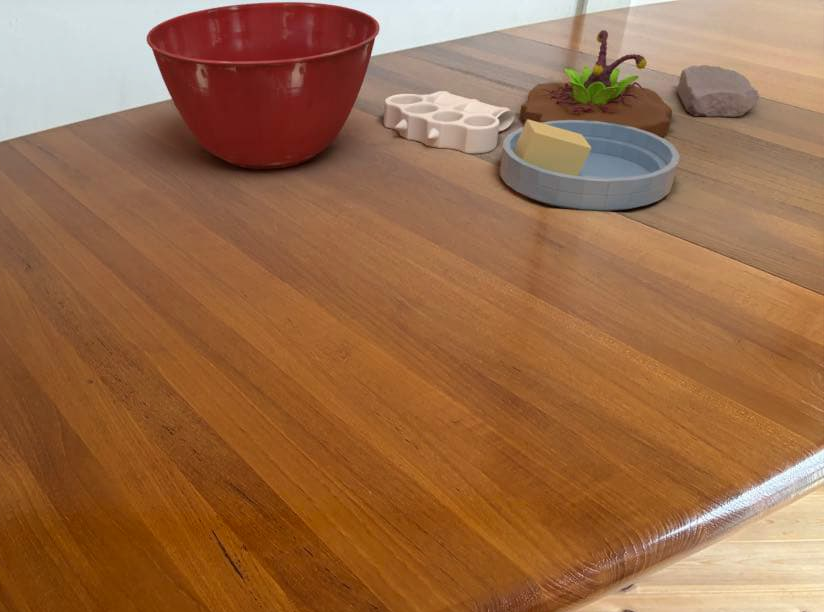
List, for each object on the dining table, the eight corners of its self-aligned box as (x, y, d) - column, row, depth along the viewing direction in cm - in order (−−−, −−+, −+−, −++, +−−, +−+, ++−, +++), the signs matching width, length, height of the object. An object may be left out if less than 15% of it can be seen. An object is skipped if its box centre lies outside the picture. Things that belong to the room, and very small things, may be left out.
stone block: (734, 104, 124) (669, 88, 124) (752, 72, 121) (684, 56, 121) (752, 134, 115) (681, 117, 115) (771, 101, 112) (698, 83, 112)
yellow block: (581, 134, 97) (527, 118, 96) (591, 147, 94) (534, 132, 93) (564, 169, 100) (511, 155, 99) (573, 184, 96) (518, 169, 95)
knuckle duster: (532, 134, 111) (463, 163, 104) (430, 105, 122) (361, 129, 115) (536, 109, 109) (465, 136, 102) (432, 82, 120) (362, 104, 113)
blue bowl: (656, 154, 104) (664, 123, 102) (683, 220, 89) (694, 185, 87) (498, 147, 108) (503, 117, 105) (499, 209, 93) (504, 175, 90)
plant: (653, 98, 122) (673, 17, 115) (680, 145, 107) (704, 54, 100) (515, 95, 125) (526, 15, 118) (522, 140, 110) (535, 52, 103)
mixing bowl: (203, 211, 95) (190, 72, 85) (135, 135, 116) (119, 16, 106) (414, 167, 103) (423, 36, 94) (315, 104, 124) (315, -8, 115)
